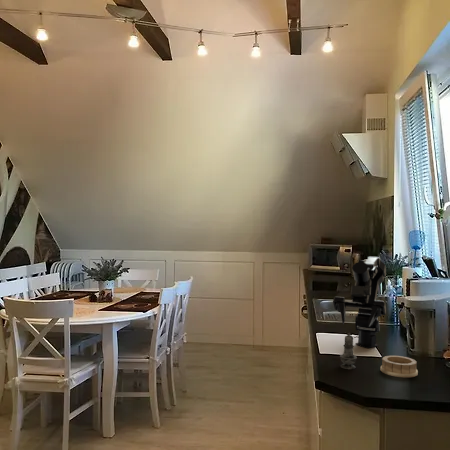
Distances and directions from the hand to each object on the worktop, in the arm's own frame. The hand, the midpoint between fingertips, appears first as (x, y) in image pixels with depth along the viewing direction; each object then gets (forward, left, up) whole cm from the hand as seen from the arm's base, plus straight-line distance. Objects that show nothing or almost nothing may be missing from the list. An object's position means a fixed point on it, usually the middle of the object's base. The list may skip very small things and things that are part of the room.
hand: (355, 324), depth 183 cm
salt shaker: (+4, -7, -14) cm, 16 cm away
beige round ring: (+16, +4, -13) cm, 21 cm away
